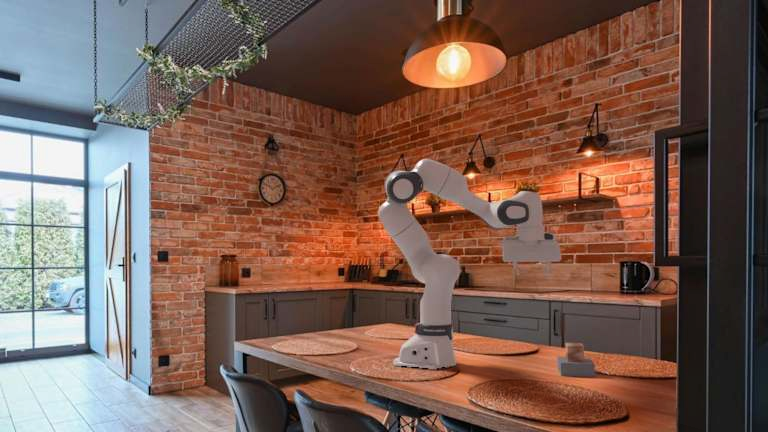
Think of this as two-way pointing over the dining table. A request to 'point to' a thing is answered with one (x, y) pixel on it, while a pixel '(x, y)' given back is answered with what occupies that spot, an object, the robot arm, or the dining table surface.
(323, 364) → the dining table surface
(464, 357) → the dining table surface
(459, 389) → the dining table surface
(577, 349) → the cube
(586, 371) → the base block
